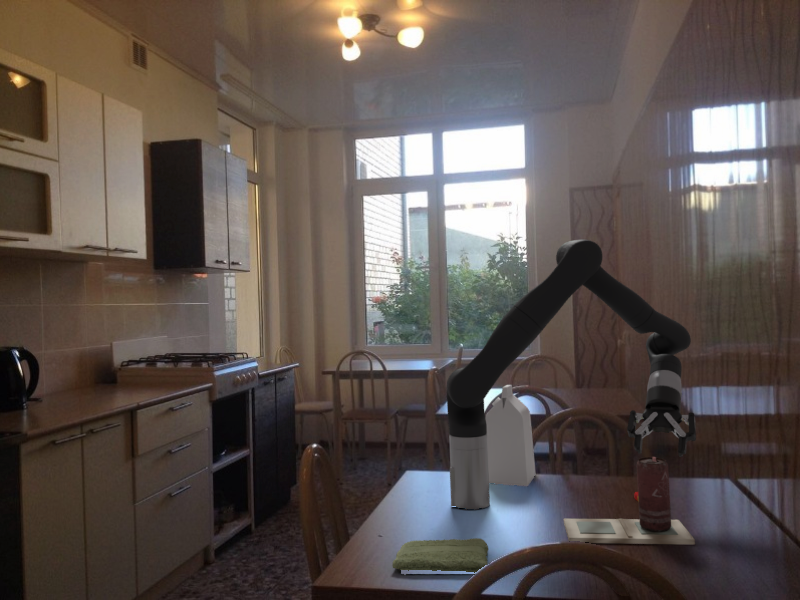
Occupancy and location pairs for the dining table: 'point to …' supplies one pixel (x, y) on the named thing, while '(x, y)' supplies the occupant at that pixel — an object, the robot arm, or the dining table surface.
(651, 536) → the white flat rectangular tray
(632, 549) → the dining table surface
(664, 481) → the can
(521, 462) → the milk
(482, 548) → the washcloth
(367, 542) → the dining table surface
